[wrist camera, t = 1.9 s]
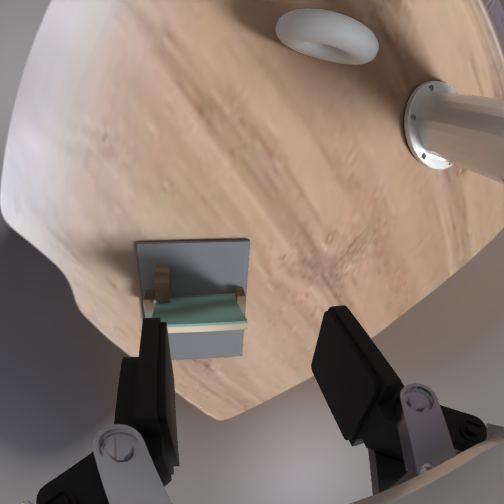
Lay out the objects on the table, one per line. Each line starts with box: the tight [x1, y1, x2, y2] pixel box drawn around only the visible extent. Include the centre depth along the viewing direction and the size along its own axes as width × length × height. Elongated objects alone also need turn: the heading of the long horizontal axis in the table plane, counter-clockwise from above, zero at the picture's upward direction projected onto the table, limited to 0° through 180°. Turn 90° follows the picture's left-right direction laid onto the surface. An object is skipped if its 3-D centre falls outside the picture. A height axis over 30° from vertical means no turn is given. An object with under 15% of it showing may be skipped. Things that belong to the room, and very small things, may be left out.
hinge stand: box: [144, 266, 246, 312], centre depth 36 cm, size 5×12×4 cm, turn 86°
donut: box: [275, 8, 379, 65], centre depth 24 cm, size 10×4×10 cm, turn 78°
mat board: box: [136, 240, 250, 360], centre depth 39 cm, size 18×13×1 cm
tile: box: [152, 296, 247, 333], centre depth 32 cm, size 9×9×1 cm
